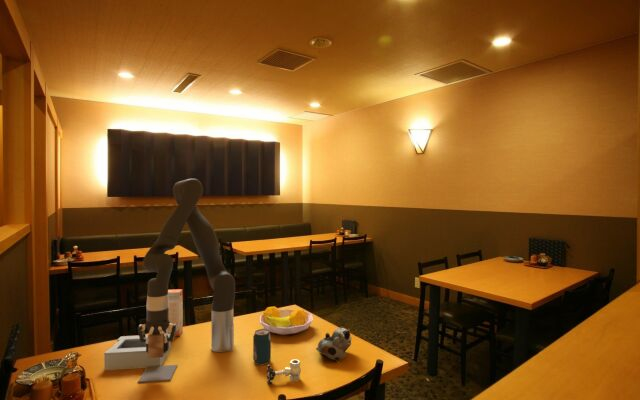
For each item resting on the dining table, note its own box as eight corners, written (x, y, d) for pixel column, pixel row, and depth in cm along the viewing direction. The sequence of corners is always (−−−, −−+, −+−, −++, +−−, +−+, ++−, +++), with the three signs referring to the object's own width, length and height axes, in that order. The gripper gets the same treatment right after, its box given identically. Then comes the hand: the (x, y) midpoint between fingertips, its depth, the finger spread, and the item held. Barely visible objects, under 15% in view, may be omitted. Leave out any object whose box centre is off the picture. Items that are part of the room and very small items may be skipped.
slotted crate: (170, 349, 157) (170, 333, 157) (160, 366, 141) (160, 349, 141) (120, 351, 154) (120, 336, 154) (104, 370, 138) (104, 353, 138)
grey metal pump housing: (320, 346, 160) (334, 317, 162) (344, 362, 156) (358, 332, 158) (311, 350, 146) (327, 319, 148) (337, 367, 142) (353, 335, 144)
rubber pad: (177, 366, 142) (177, 364, 142) (170, 380, 131) (170, 379, 131) (147, 368, 140) (147, 366, 140) (137, 383, 129) (137, 381, 129)
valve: (298, 374, 137) (266, 378, 133) (298, 356, 136) (266, 361, 133) (302, 383, 130) (269, 388, 127) (302, 364, 130) (269, 369, 127)
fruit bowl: (290, 316, 199) (290, 295, 199) (324, 330, 179) (324, 307, 179) (245, 329, 180) (245, 306, 180) (277, 346, 160) (277, 321, 160)
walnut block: (166, 351, 138) (166, 330, 138) (162, 357, 133) (162, 335, 133) (152, 351, 138) (152, 330, 137) (148, 357, 133) (148, 336, 132)
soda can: (273, 359, 148) (273, 329, 148) (265, 366, 142) (265, 336, 142) (258, 356, 151) (258, 327, 150) (249, 363, 144) (250, 333, 144)
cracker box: (183, 331, 177) (183, 288, 176) (179, 336, 171) (179, 292, 170) (153, 332, 175) (152, 289, 175) (148, 337, 169) (148, 292, 169)
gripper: (180, 303, 140) (179, 347, 140) (140, 304, 138) (140, 348, 138) (175, 309, 132) (175, 355, 133) (133, 310, 130) (133, 357, 131)
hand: (157, 352), depth 135 cm, fingers closed on walnut block, 5 cm apart
